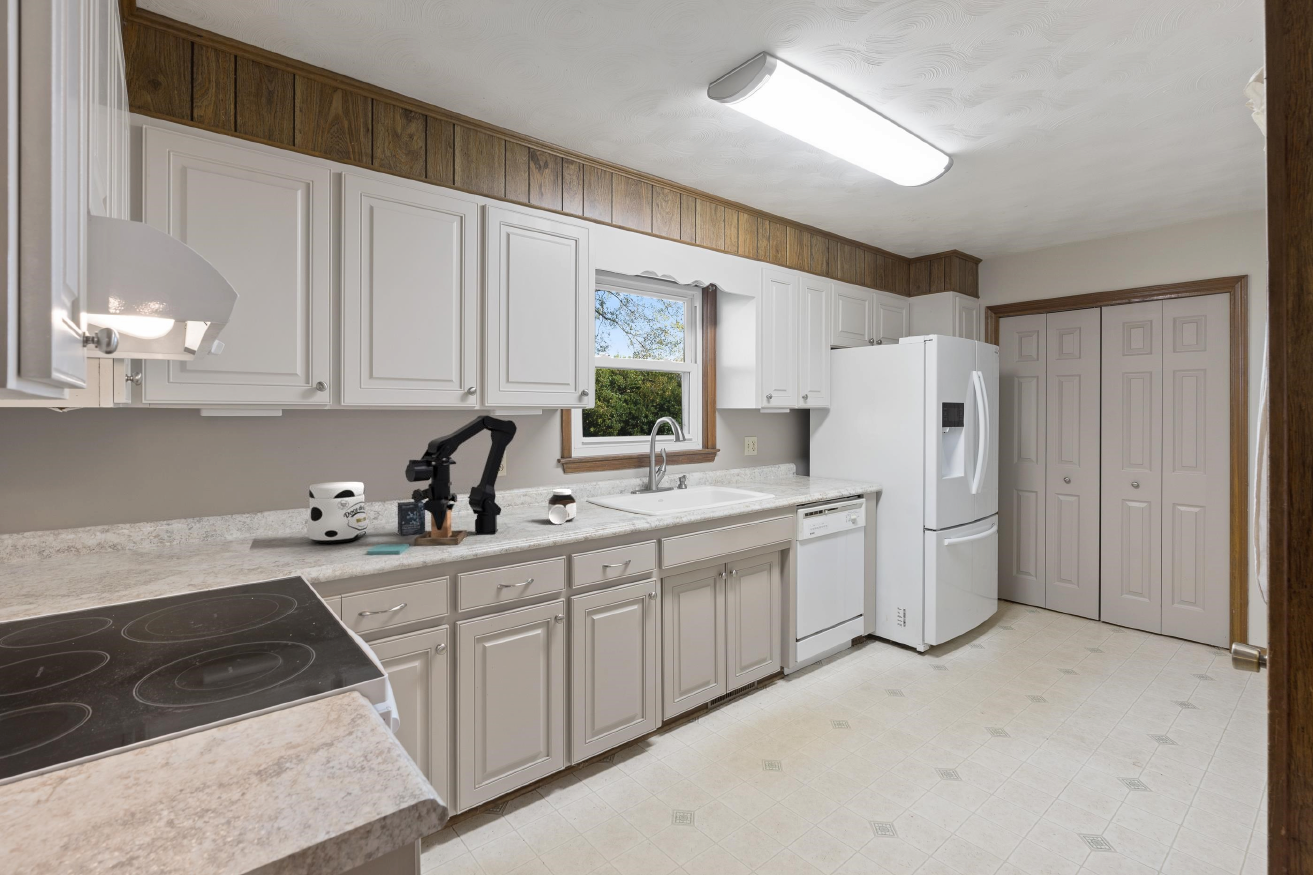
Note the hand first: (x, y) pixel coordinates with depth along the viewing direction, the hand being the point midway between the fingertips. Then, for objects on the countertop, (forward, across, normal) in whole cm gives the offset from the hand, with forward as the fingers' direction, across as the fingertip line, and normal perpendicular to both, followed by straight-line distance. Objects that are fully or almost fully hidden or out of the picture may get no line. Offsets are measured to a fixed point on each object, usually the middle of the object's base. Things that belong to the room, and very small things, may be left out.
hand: (441, 528), depth 195 cm
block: (+2, 0, 0) cm, 2 cm away
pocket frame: (+4, 0, 0) cm, 4 cm away
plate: (+4, +13, -12) cm, 18 cm away
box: (+4, -13, -13) cm, 19 cm away
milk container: (+4, -4, -33) cm, 34 cm away
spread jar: (+4, -30, +36) cm, 47 cm away
